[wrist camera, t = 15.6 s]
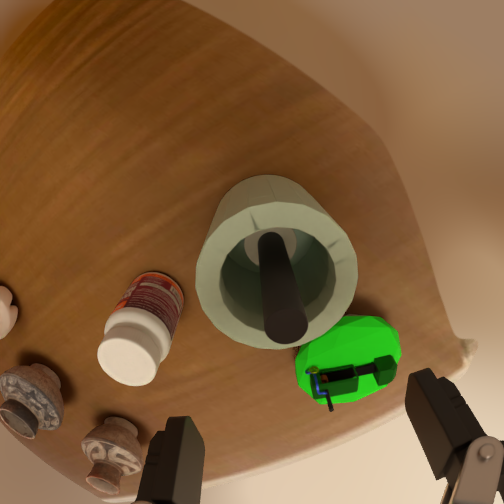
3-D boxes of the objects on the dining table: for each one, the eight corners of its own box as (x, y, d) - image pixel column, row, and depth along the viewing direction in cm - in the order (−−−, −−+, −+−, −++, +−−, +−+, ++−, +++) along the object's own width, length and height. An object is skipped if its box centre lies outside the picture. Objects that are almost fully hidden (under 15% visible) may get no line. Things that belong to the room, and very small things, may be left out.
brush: (239, 212, 30) (232, 298, 15) (286, 202, 30) (325, 279, 15) (249, 255, 31) (252, 367, 16) (294, 246, 31) (333, 351, 16)
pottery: (134, 451, 45) (119, 506, 34) (13, 371, 39) (-21, 418, 28) (164, 428, 42) (150, 492, 31) (24, 334, 36) (-18, 386, 25)
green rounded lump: (294, 381, 38) (305, 450, 28) (286, 303, 34) (301, 373, 24) (383, 364, 38) (412, 425, 28) (391, 286, 34) (436, 344, 23)
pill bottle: (135, 262, 32) (92, 321, 22) (191, 280, 33) (168, 348, 22) (127, 310, 34) (89, 375, 24) (178, 326, 35) (156, 399, 24)
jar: (202, 187, 29) (175, 223, 18) (310, 165, 29) (349, 187, 18) (228, 284, 33) (219, 359, 22) (325, 264, 32) (361, 331, 21)
